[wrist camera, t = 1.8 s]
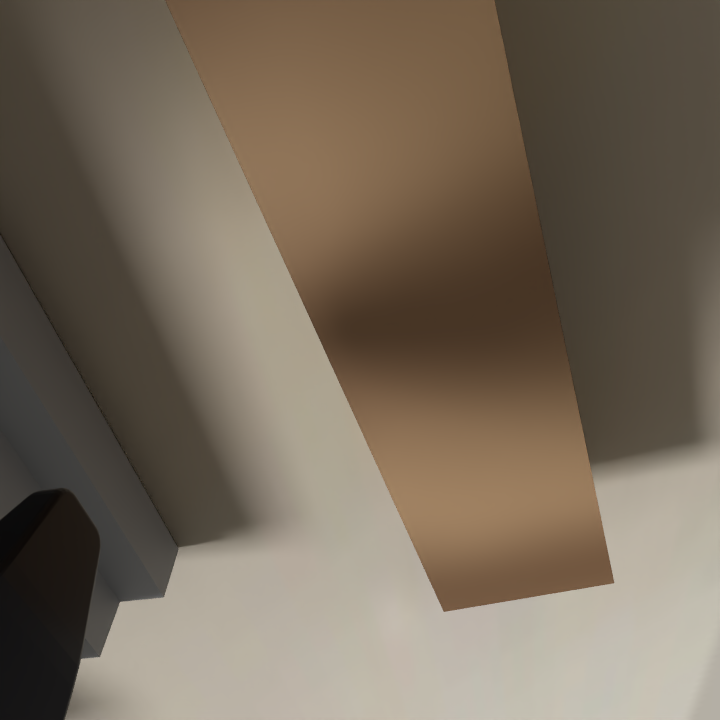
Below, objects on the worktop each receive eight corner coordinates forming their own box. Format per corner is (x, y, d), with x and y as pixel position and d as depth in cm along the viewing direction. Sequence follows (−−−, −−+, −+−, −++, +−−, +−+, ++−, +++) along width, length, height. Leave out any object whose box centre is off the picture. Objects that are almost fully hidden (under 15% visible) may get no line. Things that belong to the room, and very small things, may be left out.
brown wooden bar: (575, 459, 16) (614, 582, 14) (434, 488, 17) (443, 611, 14) (409, -294, 9) (419, -369, 6) (167, -181, 10) (74, -198, 7)
